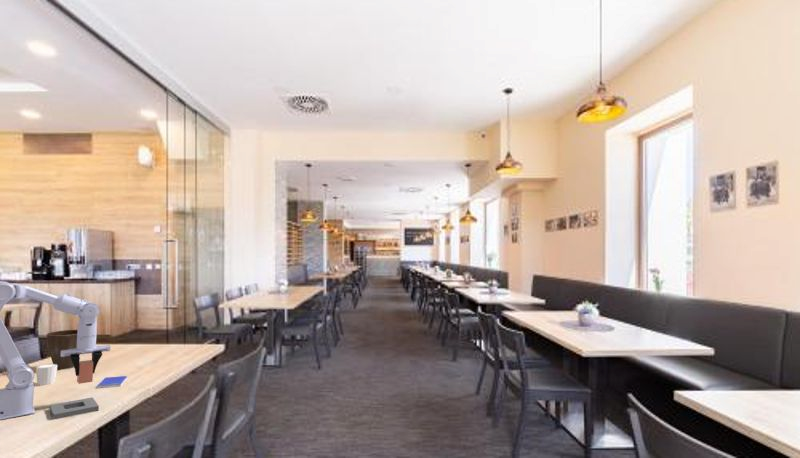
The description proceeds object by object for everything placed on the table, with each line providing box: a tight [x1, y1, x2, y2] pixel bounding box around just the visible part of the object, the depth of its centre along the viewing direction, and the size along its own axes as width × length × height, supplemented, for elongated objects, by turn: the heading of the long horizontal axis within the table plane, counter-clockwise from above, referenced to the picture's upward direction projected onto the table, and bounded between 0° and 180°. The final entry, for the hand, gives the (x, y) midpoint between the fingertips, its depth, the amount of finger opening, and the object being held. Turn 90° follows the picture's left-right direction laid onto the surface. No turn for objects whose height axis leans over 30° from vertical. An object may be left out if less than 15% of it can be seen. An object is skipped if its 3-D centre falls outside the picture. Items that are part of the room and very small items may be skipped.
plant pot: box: [46, 329, 82, 370], centre depth 206 cm, size 15×15×16 cm
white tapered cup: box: [35, 363, 58, 386], centre depth 181 cm, size 7×7×7 cm
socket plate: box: [49, 396, 100, 420], centre depth 151 cm, size 12×12×2 cm
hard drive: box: [96, 375, 128, 389], centre depth 182 cm, size 2×8×12 cm
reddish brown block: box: [76, 359, 94, 385], centre depth 160 cm, size 4×4×7 cm
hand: (85, 374), depth 160 cm, fingers closed on reddish brown block, 4 cm apart
